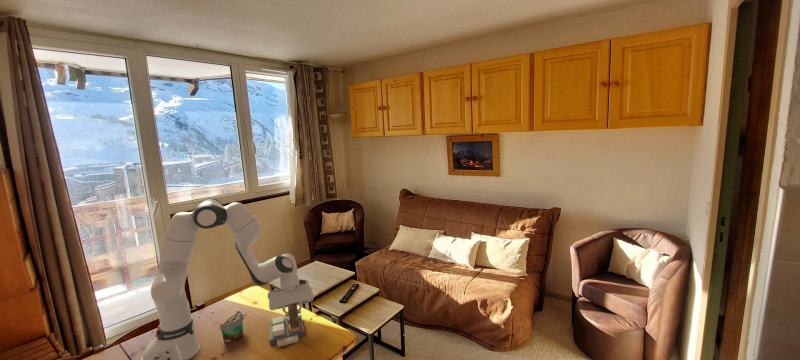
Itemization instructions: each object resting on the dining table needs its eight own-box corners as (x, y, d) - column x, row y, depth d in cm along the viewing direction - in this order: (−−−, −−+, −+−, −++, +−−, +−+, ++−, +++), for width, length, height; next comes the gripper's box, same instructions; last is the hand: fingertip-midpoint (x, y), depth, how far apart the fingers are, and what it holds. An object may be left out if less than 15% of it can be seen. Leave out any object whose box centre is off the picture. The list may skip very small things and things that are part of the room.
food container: (233, 346, 146) (231, 326, 145) (222, 345, 147) (219, 325, 146) (251, 330, 158) (249, 311, 157) (240, 329, 159) (237, 310, 158)
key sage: (273, 328, 154) (272, 323, 154) (272, 323, 159) (272, 318, 158) (284, 325, 156) (283, 321, 155) (283, 320, 160) (283, 315, 160)
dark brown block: (290, 329, 151) (288, 309, 149) (289, 324, 154) (287, 304, 153) (299, 326, 152) (297, 306, 151) (298, 322, 156) (296, 302, 154)
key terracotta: (289, 334, 150) (289, 330, 150) (289, 329, 155) (288, 324, 154) (300, 332, 152) (300, 327, 152) (299, 326, 157) (299, 321, 156)
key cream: (273, 337, 148) (272, 332, 147) (273, 331, 152) (272, 326, 152) (284, 334, 149) (284, 329, 149) (284, 328, 154) (283, 323, 154)
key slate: (288, 324, 157) (288, 320, 156) (288, 319, 161) (287, 314, 161) (299, 322, 158) (298, 317, 158) (298, 316, 163) (297, 312, 163)
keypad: (270, 348, 143) (269, 343, 143) (270, 327, 160) (269, 322, 159) (305, 339, 149) (304, 334, 148) (301, 319, 165) (301, 314, 165)
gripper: (266, 288, 153) (269, 318, 146) (311, 279, 160) (315, 307, 153) (267, 293, 158) (270, 322, 150) (310, 284, 165) (315, 311, 158)
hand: (293, 314), depth 152 cm, fingers closed on dark brown block, 4 cm apart
